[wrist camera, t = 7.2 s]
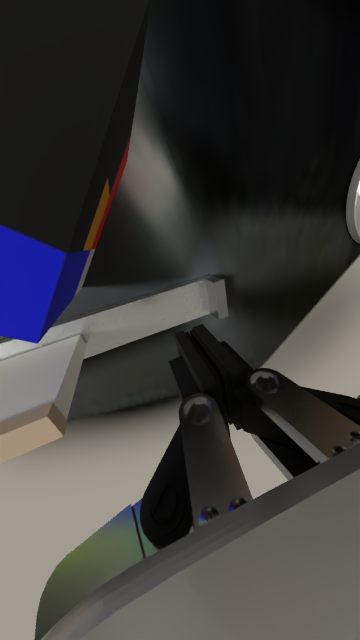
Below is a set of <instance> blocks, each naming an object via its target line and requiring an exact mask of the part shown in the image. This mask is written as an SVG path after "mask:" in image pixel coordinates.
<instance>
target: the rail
mask: <svg viewBox="0 0 360 640" xmlns="http://www.w3.org/2000/svg"><path fill="white" fill-rule="evenodd" d="M207 314H212V315H213V316H215V317H216V318H218V319H222V318H225V317H227V316H228V308H227V299H226V290H225V281H224V279H221V278H218V277H215V276H212V275H205V276H202V277H199V278H196V279H192V280H189V281H186V282H183V283H180V284H176V285H173V286H170V287H167V288H164V289H160V290H157V291H154V292H151V293H148V294H144V295H141V296H138V297H135V298H132V299H128V300H125V301H122V302H119V303H116V304H112V305H109V306H106V307H103V308H99V309H96V310H93V311H90V312H87V313H83V314H80V315H77V316H74V317H71V318H67V319H64V320H61V321H58V322H55V323H54V324H53V325H52V326H51V328H50V329H49V330H48V331H47V333H46V334H45V335H44V337H43V338H42V339H41V340H40V342H39V343H38V344H36V343H31V342H27V341H22V340H18V339H13V338H8V337H6V338H3V339H0V361H3V360H6V359H9V358H12V357H15V356H18V355H21V354H24V353H27V352H30V351H33V350H36V349H39V348H42V347H45V346H48V345H51V344H54V343H57V342H60V341H63V340H66V339H69V338H72V337H75V336H78V335H80V336H81V337H82V339H83V341H84V343H85V345H86V350H85V354H84V358H83V359H85V358H88V357H91V356H94V355H96V354H99V353H102V352H105V351H107V350H110V349H113V348H116V347H118V346H121V345H124V344H127V343H130V342H132V341H135V340H138V339H141V338H143V337H146V336H149V335H152V334H154V333H157V332H160V331H163V330H165V329H168V328H171V327H174V326H177V325H179V324H182V323H185V322H188V321H190V320H193V319H196V318H199V317H201V316H204V315H207Z"/></svg>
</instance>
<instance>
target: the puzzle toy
mask: <svg viewBox="0 0 360 640" xmlns="http://www.w3.org/2000/svg"><path fill="white" fill-rule="evenodd" d="M150 4H151V0H0V336H4V337H8V338H13V339H18V340H22V341H27V342H31V343H36V344H38V343H39V342H40V340H41V339H42V338H43V337H44V335H45V334H46V333H47V331H48V330H49V329H50V328H51V326H52V325H53V324H54V323H55V321H56V320H57V319H58V317H59V316H60V315H61V314H62V312H63V311H64V310H65V308H66V307H67V306H68V305H69V303H70V302H71V301H72V299H73V298H74V297H75V296H76V294H77V293H78V292H79V290H80V289H81V288H82V286H83V283H84V280H85V277H86V274H87V272H88V269H89V266H90V263H91V260H92V257H93V255H94V252H95V249H96V246H97V243H98V241H99V238H100V235H101V232H102V229H103V226H104V224H105V221H106V218H107V215H108V212H109V209H110V207H111V204H112V201H113V198H114V195H115V192H116V190H117V187H118V184H119V181H120V178H121V176H122V173H123V170H124V167H125V164H126V161H127V157H128V150H129V143H130V137H131V130H132V123H133V117H134V110H135V103H136V97H137V90H138V83H139V77H140V70H141V63H142V57H143V50H144V43H145V37H146V30H147V24H148V17H149V10H150Z"/></svg>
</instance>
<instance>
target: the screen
mask: <svg viewBox="0 0 360 640" xmlns="http://www.w3.org/2000/svg"><path fill="white" fill-rule="evenodd" d="M85 350H86V345H85V343H84V341H83V339H82V337H81V336H80V335H78V336H75V337H72V338H69V339H66V340H63V341H60V342H57V343H54V344H51V345H48V346H45V347H42V348H39V349H36V350H33V351H30V352H27V353H24V354H21V355H18V356H15V357H12V358H9V359H6V360H3V361H0V464H1V463H3V462H6V461H8V460H10V459H12V458H15V457H17V456H19V455H22V454H24V453H26V452H28V451H31V450H33V449H35V448H38V447H40V446H42V445H44V444H47V443H49V442H51V441H54V440H56V439H58V438H60V437H63V436H64V433H65V429H66V425H67V422H68V421H67V417H68V413H69V409H70V406H71V402H72V398H73V395H74V391H75V387H76V383H77V380H78V376H79V372H80V369H81V365H82V361H83V358H84V354H85Z"/></svg>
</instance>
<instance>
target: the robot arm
mask: <svg viewBox="0 0 360 640" xmlns="http://www.w3.org/2000/svg"><path fill="white" fill-rule="evenodd" d="M346 223H347V227H348V231H349V233H350V235H351V237H352V238H353V239H354V240H355V241H356V242H357V243H359V244H360V159H359V161H358V164H357V166H356V169H355V171H354V173H353V176H352V180H351V183H350V186H349V191H348V196H347V202H346ZM190 335H191V336H190ZM190 335H189V333H188V332H186V333H184V331H181V332H178V333H175V334H174V338H175V342H176V345H177V349H178V353H179V356H180V357H178V358H175V359H173V360H170V361H169V365H170V368H171V371H172V374H173V377H174V380H175V383H176V386H177V389H178V392H179V395H180V397H181V400H182V403H181V406H180V408H179V419H180V425H179V427H178V429H177V431H176V433H175V434H174V436H173V438H172V440H171V442H170V444H169V446H168V448H167V450H166V452H165V454H164V456H163V458H162V460H161V462H160V463H159V465H158V467H157V469H156V471H155V473H154V475H153V477H152V479H151V481H150V483H149V485H148V487H147V489H146V491H145V493H144V496H143V498H142V499H141V500H140V501H138V502H137V503H136V504H135V505H133V506H131V504H130V505H129V506H128V507H126V508H125V509H124V510H123V511H121V512H120V513H119V514H117V515H116V516H115V517H114V518H113V519H111V520H110V521H109V522H108V523H106V524H105V525H104V526H103V527H101V528H100V529H99V530H98V531H96V532H95V533H94V534H93V535H92V536H90V537H89V538H88V539H87V540H85V541H84V542H83V543H82V544H80V545H79V546H78V547H77V548H75V549H74V550H73V551H72V552H70V553H69V554H68V555H67V556H66V557H65V558H64V559H63V560H62V561H61V562H60V563H59V564H58V565H57V566H56V568H55V570H54V571H53V573H52V574H51V576H50V578H49V579H48V581H47V583H46V586H45V588H44V591H43V593H42V596H41V598H40V603H39V608H38V613H37V619H36V629H35V639H34V640H360V395H359V396H358V397H357V399H356V398H352V397H349V396H345V395H340V394H335V393H330V392H325V391H320V390H315V389H310V388H305V387H300V386H298V385H297V384H296V383H294V382H293V381H291V380H290V379H288V378H287V377H285V376H284V375H282V374H281V373H279V372H277V371H275V370H272V369H268V368H259V369H255V370H253V369H252V368H251V367H250V366H249V365H248V364H247V363H246V362H245V361H244V360H243V359H242V358H241V357H240V356H239V355H238V354H237V353H236V352H235V351H234V350H233V349H232V348H231V347H230V346H229V345H228V344H227V343H226V342H225V341H222V342H219V341H218V340H217V339H216V338H215V337H214V336H213V335H212V334H211V333H210V332H209V331H208V330H207V329H206V328H205V326H204V325H202V324H201V325H198V326H195V327H193V330H192V331H190ZM228 423H229V424H230V425H231V424H234V425H235V427H236V429H237V430H239V429H241V428H242V429H243V430H244V431H245V432H248V433H251V436H252V437H253V439H254V440H255V441H256V443H257V444H258V445H259V446H260V447H261V449H262V450H263V451H264V452H265V453H266V454H267V456H268V457H269V458H270V459H271V460H272V462H273V463H274V464H275V465H276V466H277V467H278V469H279V470H280V471H281V472H282V473H283V475H284V476H285V477H286V478H287V479H288V481H287V482H285V483H283V484H281V485H279V486H277V487H276V488H274V489H272V490H270V491H268V492H266V493H264V494H262V495H261V496H259V497H257V498H255V499H253V498H252V496H251V493H250V491H249V488H248V485H247V482H246V480H245V477H244V474H243V472H242V469H241V466H240V464H239V461H238V458H237V456H236V453H235V450H234V448H233V445H232V442H231V439H230V431H229V425H228Z"/></svg>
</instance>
